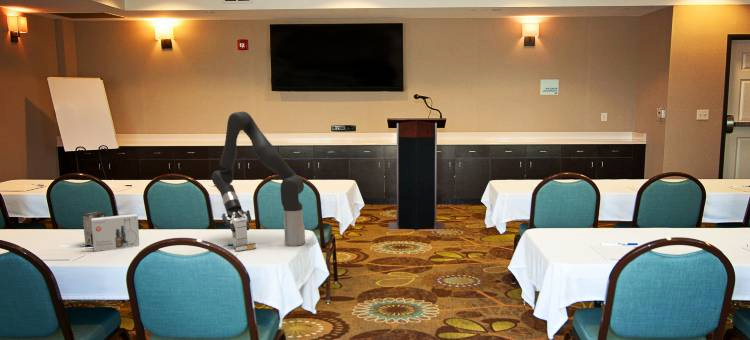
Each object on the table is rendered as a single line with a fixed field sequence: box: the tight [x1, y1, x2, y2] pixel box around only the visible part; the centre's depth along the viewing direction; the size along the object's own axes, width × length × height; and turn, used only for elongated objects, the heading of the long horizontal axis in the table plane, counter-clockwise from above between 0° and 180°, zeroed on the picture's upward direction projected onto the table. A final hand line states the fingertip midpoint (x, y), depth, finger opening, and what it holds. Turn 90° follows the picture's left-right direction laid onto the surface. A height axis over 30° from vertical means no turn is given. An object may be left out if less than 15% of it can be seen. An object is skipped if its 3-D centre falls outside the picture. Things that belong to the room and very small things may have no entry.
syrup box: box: [231, 217, 249, 249], centre depth 292 cm, size 6×6×14 cm
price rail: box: [234, 242, 257, 253], centre depth 287 cm, size 10×2×2 cm, turn 123°
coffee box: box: [82, 211, 106, 247], centre depth 307 cm, size 9×6×16 cm
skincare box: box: [91, 213, 140, 252], centre depth 298 cm, size 21×5×16 cm, turn 117°
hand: (241, 230), depth 290 cm, fingers open, 6 cm apart
